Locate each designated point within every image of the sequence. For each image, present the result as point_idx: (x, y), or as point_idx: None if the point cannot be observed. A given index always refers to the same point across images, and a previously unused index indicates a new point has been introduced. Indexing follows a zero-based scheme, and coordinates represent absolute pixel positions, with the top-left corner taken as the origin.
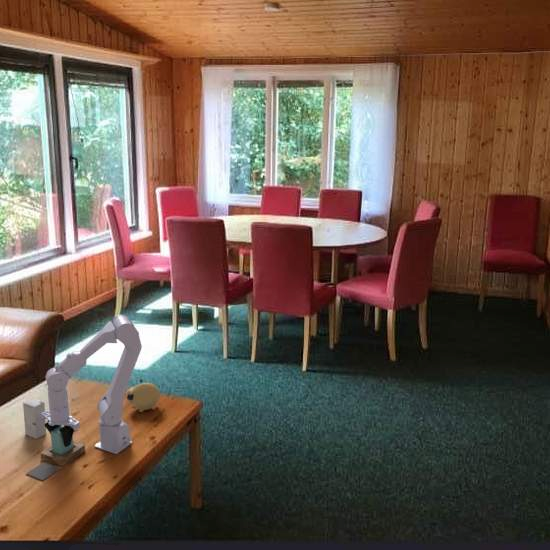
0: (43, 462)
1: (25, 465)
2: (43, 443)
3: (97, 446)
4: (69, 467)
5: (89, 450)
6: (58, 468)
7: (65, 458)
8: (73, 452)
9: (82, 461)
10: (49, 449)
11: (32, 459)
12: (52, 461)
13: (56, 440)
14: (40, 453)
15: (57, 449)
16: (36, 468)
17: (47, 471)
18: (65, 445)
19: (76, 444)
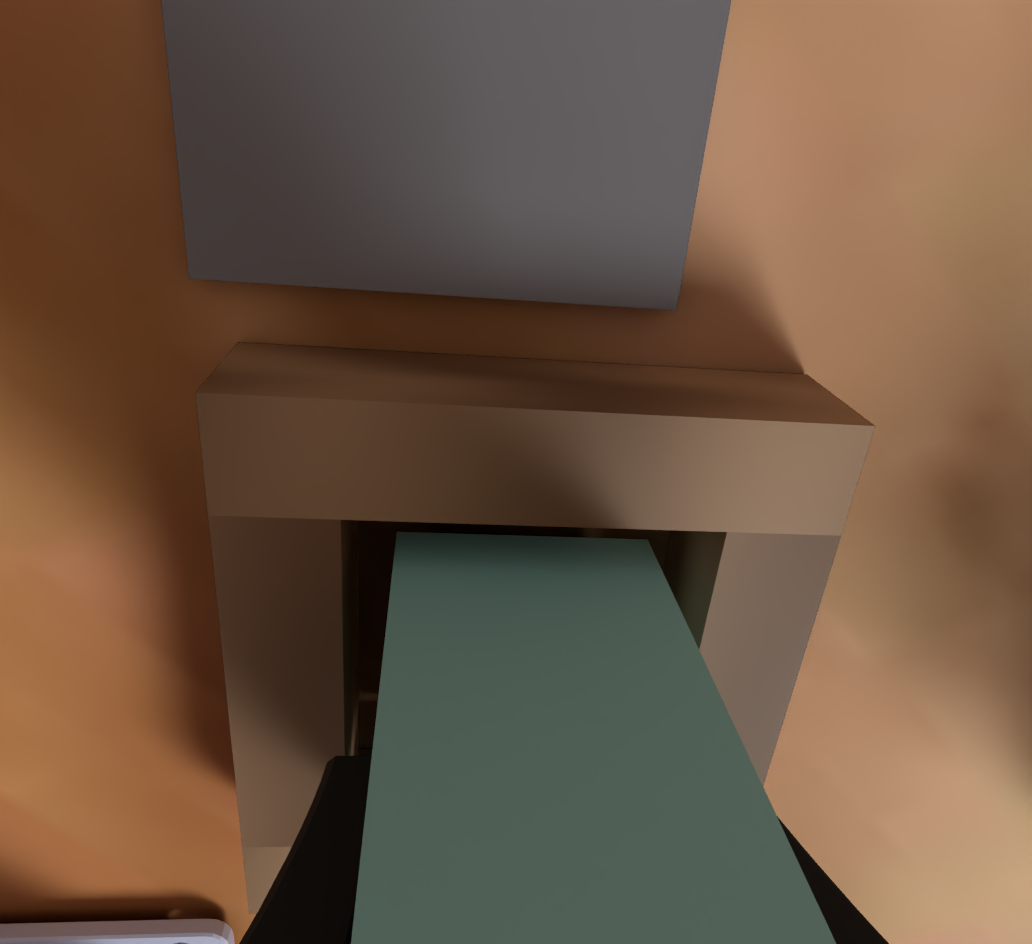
0: (668, 280)
1: (993, 56)
2: (1009, 698)
3: (160, 940)
4: (90, 389)
5: (229, 840)
6: (205, 237)
7: (214, 504)
8: (231, 706)
9: (56, 618)
10: (758, 590)
11: (958, 297)
12: (503, 372)
13: (551, 842)
14: (865, 419)
15: (517, 627)
16: (667, 16)
17: (332, 21)
18: (331, 786)
19: None
